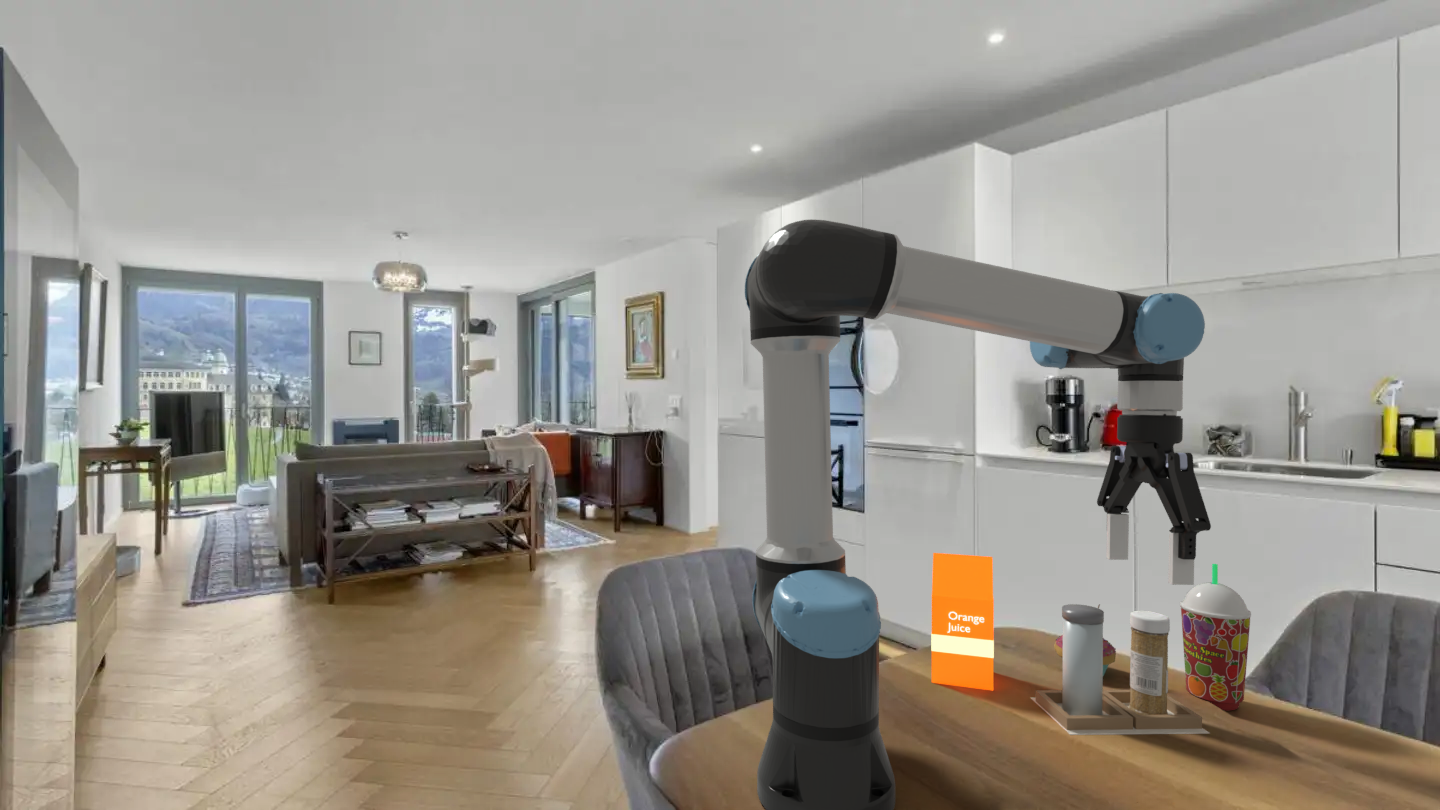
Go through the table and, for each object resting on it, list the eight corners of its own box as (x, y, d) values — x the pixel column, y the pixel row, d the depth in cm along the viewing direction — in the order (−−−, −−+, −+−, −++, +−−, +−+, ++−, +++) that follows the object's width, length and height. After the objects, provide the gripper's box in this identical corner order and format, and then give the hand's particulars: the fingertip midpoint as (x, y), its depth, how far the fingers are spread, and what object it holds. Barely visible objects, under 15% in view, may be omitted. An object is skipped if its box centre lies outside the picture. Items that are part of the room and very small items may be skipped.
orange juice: (933, 671, 112) (933, 547, 112) (992, 679, 109) (992, 551, 109) (930, 690, 105) (931, 558, 105) (994, 699, 102) (994, 562, 102)
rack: (1070, 743, 89) (1070, 722, 89) (1030, 705, 100) (1030, 686, 100) (1210, 742, 89) (1210, 721, 89) (1154, 704, 100) (1154, 685, 100)
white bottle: (1073, 723, 92) (1074, 615, 92) (1054, 706, 97) (1055, 604, 97) (1111, 722, 92) (1111, 615, 92) (1090, 706, 97) (1090, 604, 97)
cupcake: (1116, 674, 111) (1116, 599, 111) (1115, 694, 104) (1115, 613, 103) (1056, 664, 115) (1056, 591, 115) (1051, 682, 108) (1051, 605, 108)
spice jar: (1174, 716, 94) (1176, 616, 94) (1157, 724, 91) (1159, 621, 91) (1138, 703, 98) (1140, 607, 98) (1121, 710, 95) (1123, 612, 95)
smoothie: (1166, 695, 103) (1166, 560, 103) (1205, 687, 106) (1206, 555, 106) (1223, 719, 95) (1224, 573, 95) (1264, 710, 98) (1265, 568, 98)
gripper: (1248, 416, 82) (1245, 596, 82) (1122, 412, 107) (1119, 550, 107) (1185, 415, 82) (1182, 596, 82) (1073, 411, 106) (1071, 550, 107)
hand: (1146, 570), depth 94 cm, fingers open, 13 cm apart
